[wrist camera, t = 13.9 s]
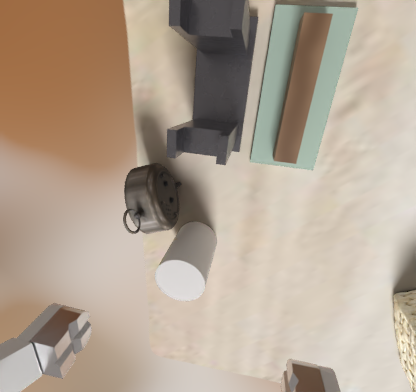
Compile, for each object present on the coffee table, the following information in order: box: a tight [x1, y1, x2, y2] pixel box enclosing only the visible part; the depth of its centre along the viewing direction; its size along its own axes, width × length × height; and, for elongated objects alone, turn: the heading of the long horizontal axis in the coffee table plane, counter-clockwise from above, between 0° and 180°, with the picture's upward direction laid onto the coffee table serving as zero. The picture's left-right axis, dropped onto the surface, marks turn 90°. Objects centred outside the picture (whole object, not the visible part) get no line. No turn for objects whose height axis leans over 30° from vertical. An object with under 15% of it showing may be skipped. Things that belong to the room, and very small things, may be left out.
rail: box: [273, 12, 333, 164], centre depth 32 cm, size 3×18×3 cm, turn 175°
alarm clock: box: [123, 163, 181, 234], centre depth 37 cm, size 11×5×16 cm, turn 15°
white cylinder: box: [155, 222, 217, 301], centre depth 42 cm, size 8×8×12 cm
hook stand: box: [167, 0, 258, 165], centre depth 29 cm, size 8×18×15 cm, turn 175°
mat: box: [250, 5, 358, 170], centre depth 34 cm, size 10×21×1 cm, turn 175°
